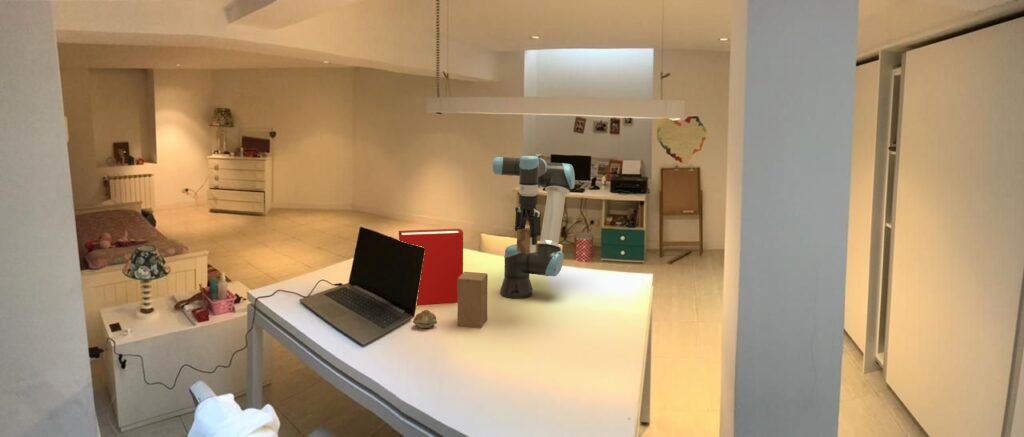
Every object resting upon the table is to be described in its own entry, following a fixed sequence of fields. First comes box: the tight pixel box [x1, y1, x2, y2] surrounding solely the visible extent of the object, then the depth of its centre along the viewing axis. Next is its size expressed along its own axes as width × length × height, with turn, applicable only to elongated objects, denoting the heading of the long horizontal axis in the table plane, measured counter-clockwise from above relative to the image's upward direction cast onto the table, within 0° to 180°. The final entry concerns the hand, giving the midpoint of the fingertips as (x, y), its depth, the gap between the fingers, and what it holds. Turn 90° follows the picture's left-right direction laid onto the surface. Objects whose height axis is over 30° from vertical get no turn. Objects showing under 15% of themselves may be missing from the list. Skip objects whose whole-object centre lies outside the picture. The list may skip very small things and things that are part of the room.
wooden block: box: [457, 271, 489, 329], centre depth 252 cm, size 10×10×20 cm
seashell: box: [412, 309, 438, 329], centre depth 248 cm, size 9×7×8 cm
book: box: [398, 228, 464, 307], centre depth 275 cm, size 27×8×32 cm, turn 104°
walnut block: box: [516, 227, 539, 254], centre depth 254 cm, size 6×6×9 cm
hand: (527, 250), depth 255 cm, fingers closed on walnut block, 6 cm apart
